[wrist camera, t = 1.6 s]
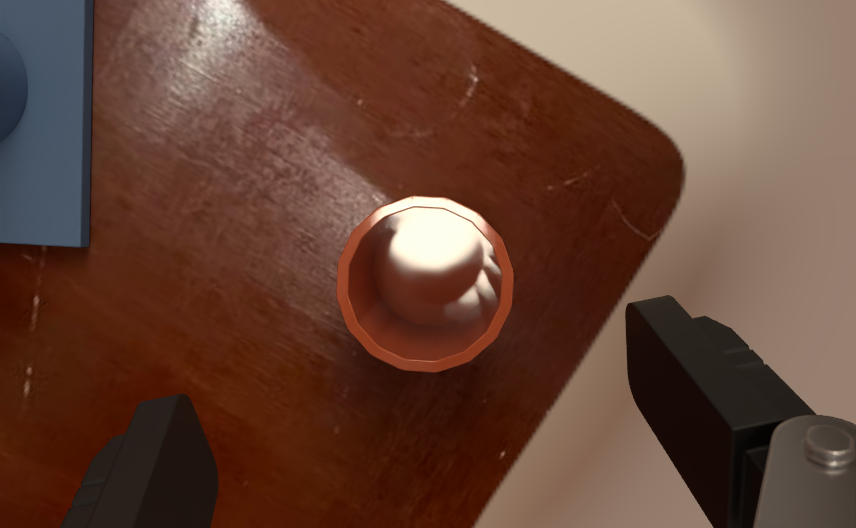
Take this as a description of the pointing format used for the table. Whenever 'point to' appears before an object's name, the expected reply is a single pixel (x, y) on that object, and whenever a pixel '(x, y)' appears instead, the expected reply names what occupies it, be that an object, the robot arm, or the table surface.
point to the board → (49, 125)
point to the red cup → (425, 283)
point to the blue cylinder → (11, 86)
